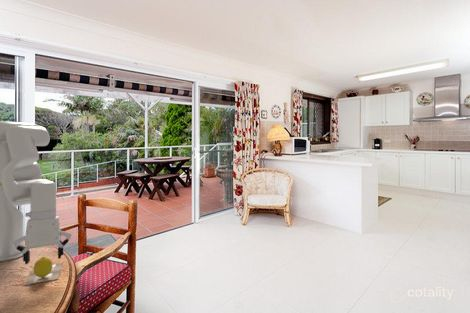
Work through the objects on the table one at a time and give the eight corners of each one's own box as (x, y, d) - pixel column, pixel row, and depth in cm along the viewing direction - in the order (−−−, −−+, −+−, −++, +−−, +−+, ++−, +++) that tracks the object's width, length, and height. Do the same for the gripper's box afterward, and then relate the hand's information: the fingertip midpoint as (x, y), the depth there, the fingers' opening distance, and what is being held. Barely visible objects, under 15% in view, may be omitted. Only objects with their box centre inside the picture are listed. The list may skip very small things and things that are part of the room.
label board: (33, 268, 99) (33, 267, 99) (63, 263, 104) (63, 262, 104) (23, 286, 87) (23, 285, 87) (58, 279, 91) (58, 278, 91)
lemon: (42, 282, 88) (42, 261, 88) (29, 280, 90) (29, 259, 89) (56, 275, 94) (56, 254, 94) (44, 273, 95) (44, 253, 95)
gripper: (9, 220, 83) (10, 269, 84) (70, 214, 92) (70, 259, 92) (16, 214, 90) (16, 260, 90) (72, 209, 98) (72, 251, 99)
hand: (44, 259), depth 91 cm, fingers open, 9 cm apart
